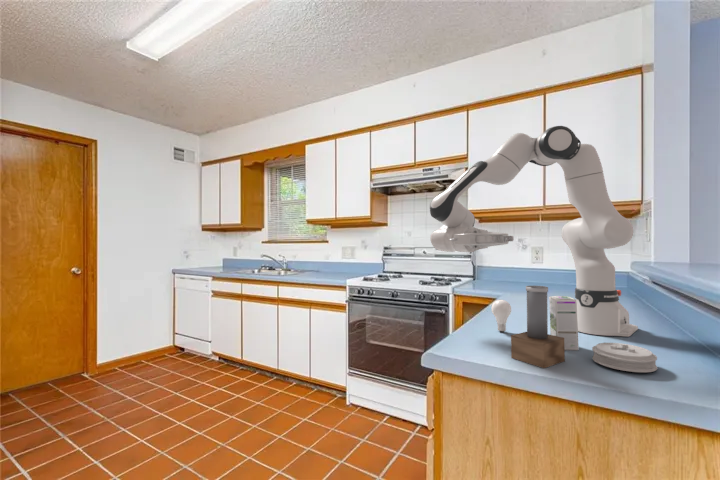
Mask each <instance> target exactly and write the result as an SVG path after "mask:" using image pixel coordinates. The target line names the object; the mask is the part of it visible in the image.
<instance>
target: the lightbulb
mask: <svg viewBox="0 0 720 480" xmlns="http://www.w3.org/2000/svg"><path fill="white" fill-rule="evenodd" d="M490 309H491V312H492V314H493V315H494V317H495V321H496V322H497V323H496V324H497V331H499V332H501V333H504V332H505V331H506V332H507V328H506V327H507V325H506V324H507V321H508V319H509V317H510V315H511V313H512V306H511V304H510V303H509V302H508V301H506V300H505V299H496V300H495V301H493V302H492V304H491V308H490Z"/></svg>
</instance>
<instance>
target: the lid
mask: <svg viewBox="0 0 720 480" xmlns="http://www.w3.org/2000/svg"><path fill="white" fill-rule="evenodd" d="M591 348H592V351H593V356H592V360H593V361H594V362H595V363H597V364H599V365H601V366H604V367H606V368H610V369H614V370H618V371H619V370H620V371H624V372H625V371H626V372H630V373H631V372H632V373H652V372H655V371H657V370H658V365H656V361H657V360H658V356H657V355H656V354H654V353H653V352H652V351H651V350H649V349H647V348H644V347H640V346H638V345H637V346H636V345H632V344H628V343H627V344H626V343H622V342H621V343H620V342H600V343H597V344H596V345H593V346H592V347H591Z"/></svg>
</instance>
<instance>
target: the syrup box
mask: <svg viewBox="0 0 720 480" xmlns="http://www.w3.org/2000/svg"><path fill="white" fill-rule="evenodd" d="M548 299H549V300H548V302H549V321H550V322H549V325H550V327H549V329H550V335H554V336H558V337H563V338H564V349H565V351H579V331H578V321H577V300H576V298H573V297H571V296H566V295H565V296H564V295H554V296H553V295H552V296H549V298H548Z"/></svg>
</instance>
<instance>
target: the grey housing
mask: <svg viewBox="0 0 720 480" xmlns="http://www.w3.org/2000/svg"><path fill="white" fill-rule="evenodd" d="M525 291H526V332H527V336H528V337H530V338H535V339H547V338H548V334H549V332H548V329H549V328H548V325H549V323H548V293H549V287H548V286H543V285H526V286H525Z"/></svg>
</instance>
